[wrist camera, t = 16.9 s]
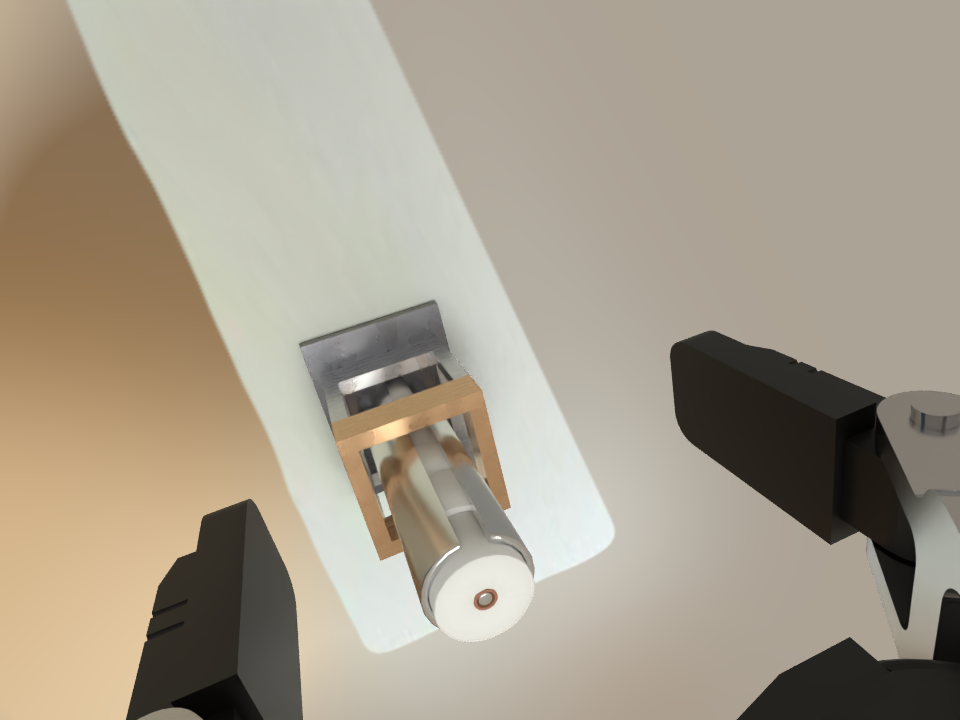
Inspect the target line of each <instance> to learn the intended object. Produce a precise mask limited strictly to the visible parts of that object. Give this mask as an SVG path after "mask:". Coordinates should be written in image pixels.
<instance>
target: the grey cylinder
mask: <svg viewBox="0 0 960 720" xmlns="http://www.w3.org/2000/svg"><path fill="white" fill-rule="evenodd" d="M424 390H427V387H426V386H425V384H424V383H423V382H422V381H421V380H420V379H419V378H418V377H416V376H414V375H411V374H409V373H407V374H405V375H402V376H399V377H396V378H393V379H390V380H387V381H384V382H381V383H378V384H375V385H373V386H370V387H367V388H365V390H364V391H363V393H362V395H361V398H360V402H359V413H361V412H364V411H367V410H370V409H373V408H375V407H378V406H381V405H384V404H387V403H390V402H392V401H395V400H398V399H401V398H404V397H407V396H410V395H412V394H415V393H418V392H421V391H424ZM370 449H371V452H372V455H373V458H374V461H375V464H376V467H377V471H378V474H379V477H380V480H381V483H382V486H383V489H384V492H385V495H386V498H387V501H388V504H389V508H390V511H391V514H392V517H393V520H394V523H395V526H396V529H397V532H398V535H399V538H400V541H401V545H402V548H403V551H404V554H405V557H406V560H407V563H408V566H409V569H410V572H411V575H412V579H413V582H414V585H415V588H416V591H417V594H418V597H419V600H420V603H421V606H422V609H423V612H424V614H425V616H426V617H427V618H428V619H429V621H430V622H431V623H432V624H433V625H435V626H436V627H438V628H439V629H441V630H442V632H443V633H444V634H446V635H447V636H449V637H451V638H452V639H455V640H460V641H464V642H477V641H482V640H486V639H490V638H492V637H494V636H496V635H498V634H501V633H502V632H504V631H506V630H507V629H509V628H510V627H512V626H514V625H515V624H516V622H517V621H518V620H519V619H520V618H521V617H522V616H523V614H524V613H525V611H526V609H527V607H528V606H529V604H530V602H531V600H532V598H533V595H534V586H535V583H534V579H533V578H534V564H533V560H532V556H531V554H530V553H529V551H528V549H527V548H526V546H525V545H524V543H523V541H522V540H521V538H520V537H519V535H518V533H517V532H516V530H515V529H514V527H513V525H512V524H511V522H510V521H509V519H508V517H507V516H506V514H505V512H504V511H503V509H502V508H501V506H500V504H499V503H498V501H497V500H496V498H495V496H494V495H493V493H492V492H491V490H490V488H489V487H488V485H487V484H486V482H485V480H484V479H483V477H482V476H481V474H480V472H479V471H478V469H477V468H476V466H475V464H474V463H473V461H472V460H471V458H470V456H469V455H468V453H467V452H466V450H465V448H464V447H463V445H462V444H461V442H460V440H459V439H458V437H457V435H456V434H455V432H454V431H453V429H452V427H451V426H450V424H449V423H448V421H447V419H446V420H443V421H440V422H438V423H435V424H432V425H429V426H427V427H424V428H421V429H419V430H416V431H413V432H410V433H408V434H405V435H402V436H399V437H397V438H394V439H391V440H388V441H386V442H383V443H380V444H378V445H375V446H372V447H370Z"/></svg>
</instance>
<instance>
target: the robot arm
mask: <svg viewBox="0 0 960 720" xmlns="http://www.w3.org/2000/svg"><path fill="white" fill-rule="evenodd" d="M670 360H671V371H672V382H673V393H674V404H675V413H676V418H677V422H678V425H679V427H680V429H681V431H682V433H683V434H684V435H685V437H686V438H687V439H688V440H689V441H690V442H691V443H692V444H693V445H694V446H696V447H697V448H699V449H700V450H701V451H703V452H704V453H705V454H707V455H708V456H710V457H711V458H712V459H714V460H715V461H716V462H718V463H719V464H721V465H722V466H723V467H725V468H726V469H727V470H729V471H730V472H731V473H733V474H734V475H736V476H737V477H739V478H740V479H741V480H742V481H744V482H745V483H747V484H748V485H749V486H751V487H752V488H753V489H755V490H756V491H758V492H759V493H760V494H762V495H763V496H764V497H766V498H767V499H769V500H770V501H771V502H773V503H774V504H775V505H777V506H778V507H780V508H781V509H782V510H784V511H785V512H786V513H788V514H789V515H790V516H792V517H793V518H795V519H796V520H797V521H799V522H800V523H801V524H803V525H804V526H806V527H807V528H808V529H810V530H811V531H812V532H814V533H815V534H816V535H818V536H819V537H821V538H822V539H823V540H825V541H826V542H827V543H829V544H830V545H832V544H834V543H836V542H838V541H840V540H842V539H844V538H846V537H848V536H850V535H852V534H855V533H857V532H859V531H860V532H861V533H862V534H864V535H866V536H867V546H866V554H867V558H868V561H869V564H870V567H871V570H872V573H873V576H874V580H875V583H876V586H877V589H878V592H879V595H880V598H881V601H882V605H883V608H884V611H885V614H886V617H887V620H888V623H889V626H890V629H891V632H892V635H893V638H894V642H895V645H896V648H897V652H898V656H899V659H892V660H881V661H877V660H876V659H875V658H873V657H872V656H871V655H870V654H869V653H868V652H867V651H865V650H864V649H863V648H862V647H861V646H860V645H858V644H857V643H856V642H855V641H854V640H853V639H852V638H850V637H849V638H847V639H846V640H844V641H842V642H840V643H838V644H836V645H834V646H832V647H830V648H828V649H827V650H825V651H823V652H821V653H819V654H817V655H815V656H813V657H811V658H809V659H808V660H806V661H804V662H802V663H800V664H798V665H796V666H794V667H792V668H790V669H789V670H787V671H785V672H783V673H781V674H779V675H778V676H777V678H776V679H775V680H774V681H773V682H772V683H771V684H770V685H769V686H768V687H767V688H766V689H765V690H764V691H763V693H762V694H761V695H760V696H759V697H758V698H757V699H756V700H755V701H754V702H753V703H752V704H751V705H750V706H749V707H748V708H747V709H746V710H745V712H744V713H743V714H742V715H741V716H740V717H739V718H738V719H737V720H960V395H956V394H951V393H945V392H938V391H910V392H903V393H898V394H895V395H892V396H889V397H888V398H885V397H882V396H880V395H877V394H876V393H873V392H871V391H869V390H866V389H864V388H862V387H859V386H857V385H854V384H852V383H850V382H847V381H845V380H843V379H840V378H838V377H836V376H833V375H831V374H829V373H826V372H824V371H817V370H816V368H814V367H812V366H810V365H808V364H805V363H803V362H800V363H798V362H797V360H795V359H794V358H791V357H789V356H786V355H784V354H782V353H779V352H777V351H775V350H772V349H766V348H760V347H754V346H749V345H745V344H743V343H741V342H738V341H736V340H734V339H732V338H729V337H727V336H725V335H722V334H720V333H718V332H716V331H707V332H704V333H701V334H699V335H696V336H693V337H691V338H688V339H685V340H682V341H680V342H677V343H675V344H674V345H673V346H672V348H671V353H670ZM152 615H153V618H151V619H150V623H149V627H148V631H147V635H146V636H147V641H146V642H145V643H144V648H143V652H142V656H141V660H140V664H139V668H138V673H137V676H136V681H135V685H134V689H133V693H132V697H131V701H130V705H129V709H128V714H127V717H126V720H303V713H302V696H301V679H300V663H299V647H298V631H297V630H298V629H297V613H296V601H295V595H294V591H293V587H292V583H291V580H290V577H289V574H288V571H287V569H286V567H285V564H284V562H283V560H282V558H281V556H280V554H279V552H278V550H277V548H276V545H275V543H274V541H273V539H272V537H271V535H270V533H269V531H268V529H267V526H266V524H265V522H264V520H263V518H262V516H261V514H260V512H259V510H258V508H257V506H256V504H255V503H254V502H253V501H252V500H251V499H248V500H245V501H242V502H240V503H237V504H234V505H231V506H229V507H226V508H224V509H221V510H218V511H216V512H213V513H210V514H207V515H205V516H204V517H203V518H202V521H201V527H200V533H199V539H198V545H197V550H196V552H193V553H191V554H188V555H185V556H182V557H180V558H178V559H177V560H176V562H175V563H174V565H173V566H172V567H171V569H170V570H169V572H168V573H167V575H166V576H165V577H164V579H163V580H162V582H161V583H160V585H159V586H158V590H157V594H156V598H155V602H154V606H153V611H152Z"/></svg>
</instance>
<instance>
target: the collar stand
mask: <svg viewBox="0 0 960 720" xmlns="http://www.w3.org/2000/svg"><path fill="white" fill-rule="evenodd" d="M299 345H300V349H301V352H302V354H303V357H304V360H305V362H306V365H307V368H308V370H309V373H310V375H311V378H312V381H313V383H314V386H315V389H316V391H317V394H318V396H319V399H320V402H321V404H322V407H323V410H324V412H325V415H326V417H327V420H328V423H329V425H330V428H331V431H332V433H333V436H334V438H335V443H336V445H337V448H338V451H339V453H340V456H341V459H342V461H343V464H344V466H345V469H346V472H347V474H348V477H349V480H350V482H351V485H352V487H353V490H354V493H355V495H356V498H357V500H358V503H359V506H360V508H361V511H362V514H363V516H364V519H365V521H366V524H367V527H368V529H369V532H370V535H371V537H372V540H373V542H374V545H375V548H376V550H377V553H378V555H379V558H380V561H381V560H383V559H386V558H388V557H391V556H393V555H396V554H398V553H401V552H403V548H402V545H401V541H400V538H399V535H398V532H397V529H396V526H395V523H394V520H393V517H392V515H391V516H388V517H386V518H385V516H384V513H383V509H382V506H381V503H380V500H379V496H378V493H380V492H382V491H384V489H383V486H382V483H381V480H380V477H379V474H378V471H377V467H376V464H375V461H374V458H373V455H372V452H371V449H370V447H372V446H375V445H378V444H380V443H383V442H386V441H388V440H391V439H394V438H397V437H399V436H402V435H405V434H408V433H410V432H413V431H416V430H419V429H421V428H424V427H427V426H429V425H432V424H435V423H438V422H440V421H443V420H446V419H447V421H448V423H449V424H450V426H451V427H452V429H453V431H454V432H455V434H456V435H457V437H458V439H459V440H460V442H461V444H462V445H463V447H464V448H465V450H466V452H467V453H468V455H469V456H470V458H471V460H472V461H473V463H474V464H475V466H476V468H477V469H478V471H479V472H480V474H481V476H482V477H483V479H484V480H485V482H486V484H487V485H488V487H489V488H490V490H491V492H492V493H493V495H494V496H495V498H496V500H497V501H498V503H499V504H500V506H501V508H502V509H503V510H506V509H508V508H511V507H510V503H509V499H508V494H507V490H506V486H505V482H504V478H503V474H502V470H501V466H500V462H499V458H498V454H497V450H496V446H495V442H494V438H493V434H492V429H491V425H490V421H489V417H488V413H487V409H486V405H485V401H484V397H483V393H482V390H481V389H480V387H479V386H478V385H477V384H476V383H475V381H474V380H473V379H472V378H471V377H470V375H469V374H468V373H467V372H466V371H465V369H464V368H463V367H462V366H461V365H460V364H459V362H458V361H457V360H456V359H455V358H454V356H453V355H452V354H451V353H450V351H449V347H448V343H447V339H446V335H445V332H444V328H443V324H442V320H441V317H440V313H439V309H438V305H437V303H436V302H435V301H432V302H429V303H426V304H422V305H419V306H416V307H413V308H410V309H407V310H404V311H401V312H397V313H394V314H391V315H388V316H385V317H382V318H379V319H375V320H372V321H369V322H366V323H363V324H360V325H357V326H354V327H350V328H347V329H344V330H341V331H338V332H335V333H332V334H329V335H325V336H322V337H319V338H316V339H313V340H310V341H307V342H303V343H300V344H299ZM407 373H409V374H411V375H414V376H416V377H418V378H419V379H420V380H421V381H422V382H423V383H424V384H425V386H426V387H427V390H424V391H421V392H418V393H415V394H412V395H410V396H407V397H404V398H401V399H398V400H395V401H392V402H390V403H387V404H384V405H381V406H378V407H375V408H373V409H370V410H367V411H364V412H361V413H359V402H360V398H361V395H362V393H363V391H364V390H365V388H367V387H370V386H373V385H375V384H378V383H381V382H384V381H387V380H390V379H393V378H396V377H399V376H402V375H405V374H407Z"/></svg>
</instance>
